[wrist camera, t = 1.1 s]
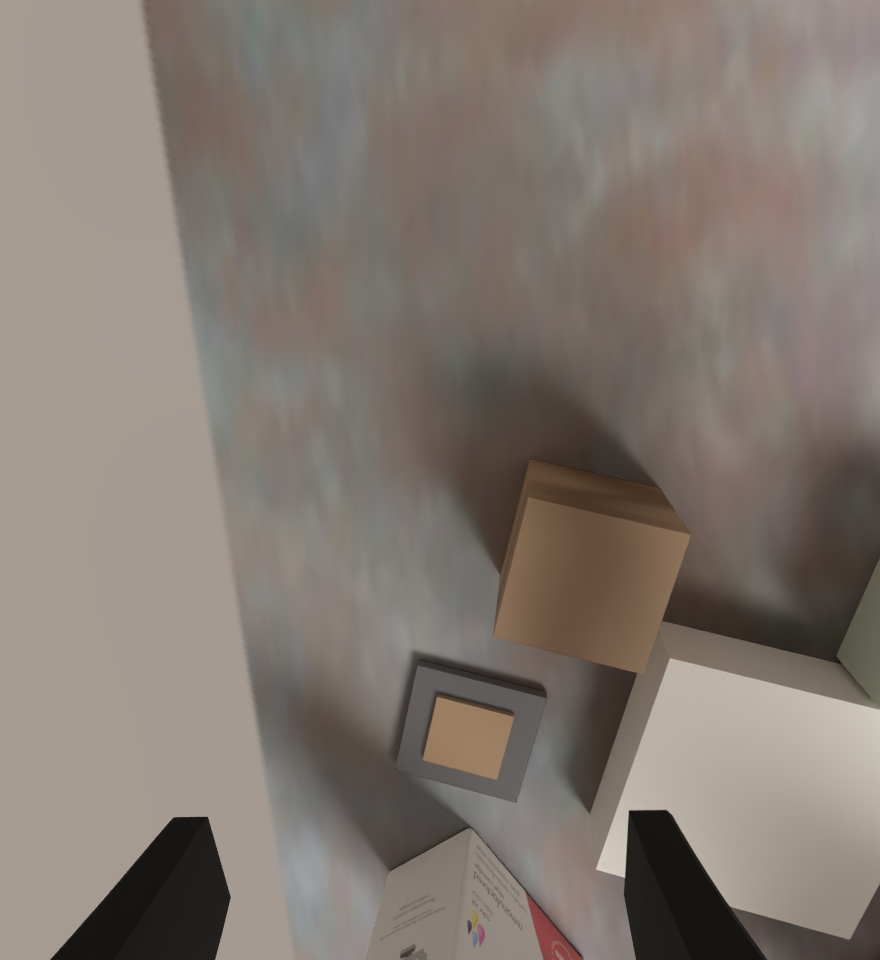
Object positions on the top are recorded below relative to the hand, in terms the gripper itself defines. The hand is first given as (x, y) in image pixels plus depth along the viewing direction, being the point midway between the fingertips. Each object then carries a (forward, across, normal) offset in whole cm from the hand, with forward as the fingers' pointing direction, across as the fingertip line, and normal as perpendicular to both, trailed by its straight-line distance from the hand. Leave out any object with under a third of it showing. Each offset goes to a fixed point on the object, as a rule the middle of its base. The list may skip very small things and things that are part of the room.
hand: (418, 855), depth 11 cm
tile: (+12, 0, +8) cm, 15 cm away
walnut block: (+12, -5, 0) cm, 13 cm away
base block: (+11, -11, +9) cm, 18 cm away
